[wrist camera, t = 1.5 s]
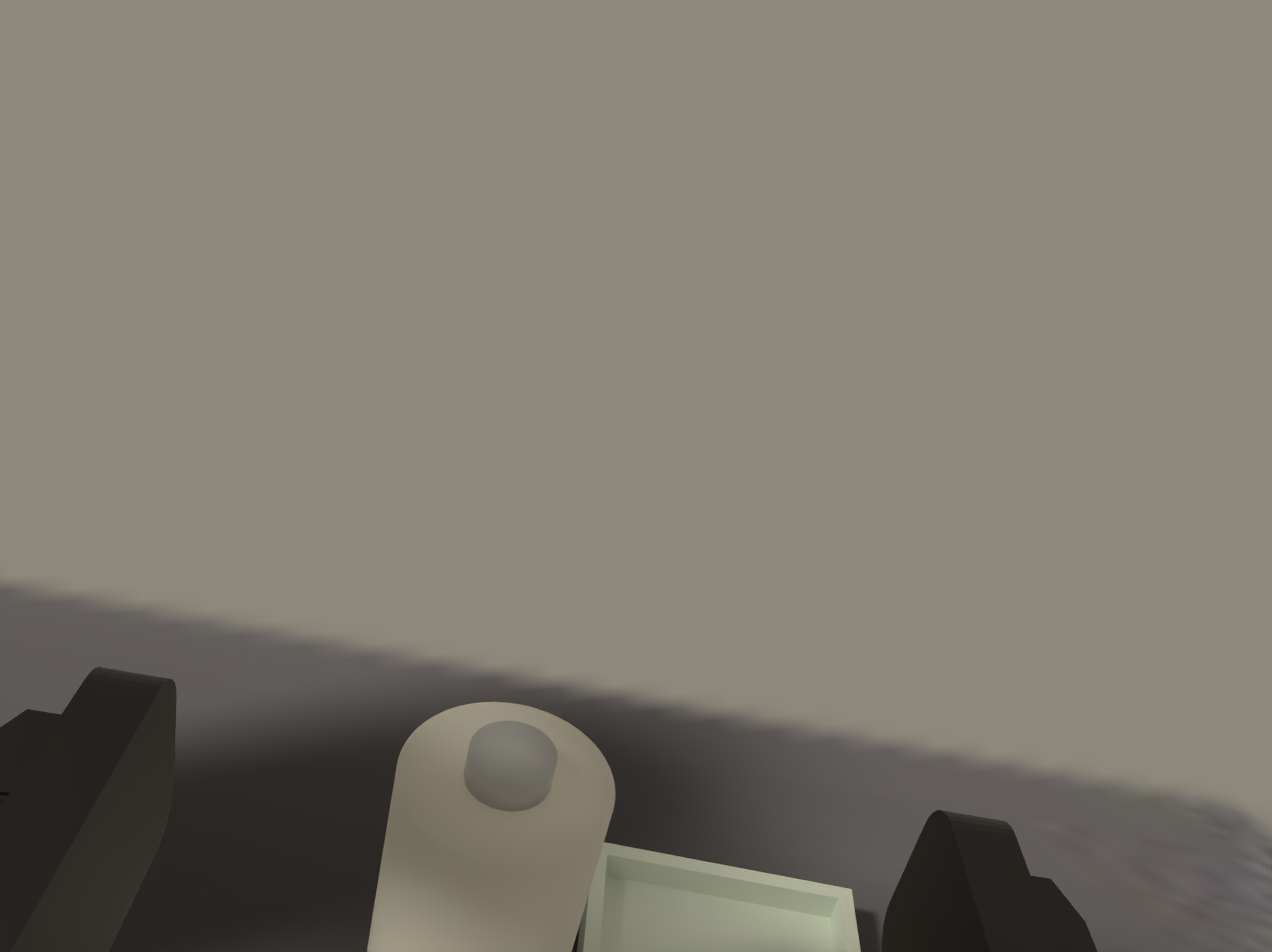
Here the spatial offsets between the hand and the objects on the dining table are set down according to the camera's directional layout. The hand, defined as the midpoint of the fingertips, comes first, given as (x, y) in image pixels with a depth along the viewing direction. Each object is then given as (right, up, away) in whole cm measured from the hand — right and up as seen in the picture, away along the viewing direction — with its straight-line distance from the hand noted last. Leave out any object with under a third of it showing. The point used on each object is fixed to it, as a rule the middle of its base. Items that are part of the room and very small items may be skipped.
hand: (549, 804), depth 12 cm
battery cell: (-5, -14, +20) cm, 25 cm away
